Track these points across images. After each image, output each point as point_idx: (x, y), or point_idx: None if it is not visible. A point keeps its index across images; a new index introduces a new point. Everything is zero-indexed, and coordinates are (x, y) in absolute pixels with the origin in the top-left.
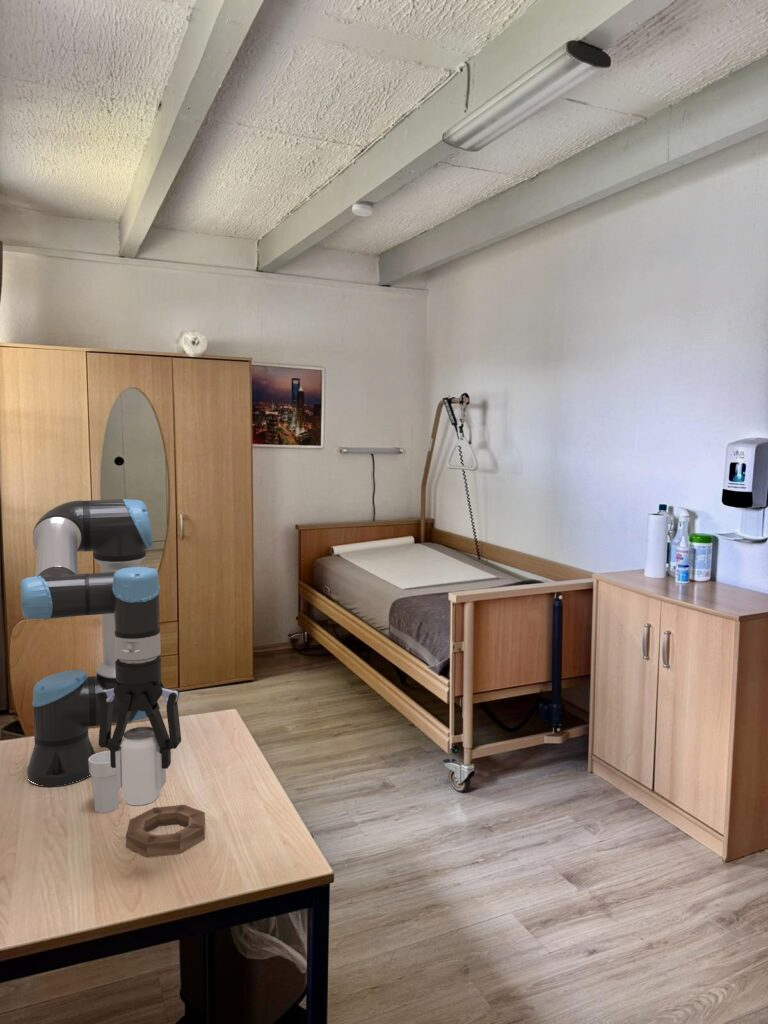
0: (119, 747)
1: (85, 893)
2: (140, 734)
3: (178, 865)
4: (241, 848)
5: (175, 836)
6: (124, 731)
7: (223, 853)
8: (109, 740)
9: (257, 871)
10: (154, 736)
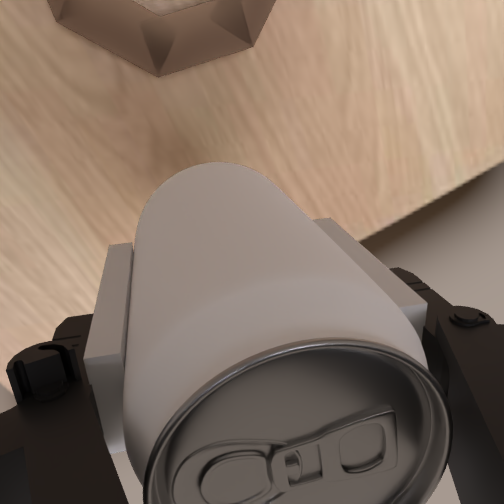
0: (94, 397)
1: (85, 253)
2: (301, 460)
3: (261, 110)
4: (405, 6)
5: (229, 20)
6: (116, 473)
7: (362, 38)
8: (6, 491)
9: (454, 118)
10: (432, 455)
